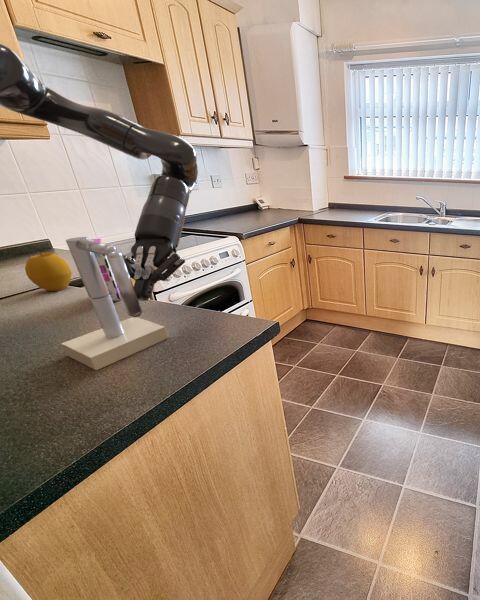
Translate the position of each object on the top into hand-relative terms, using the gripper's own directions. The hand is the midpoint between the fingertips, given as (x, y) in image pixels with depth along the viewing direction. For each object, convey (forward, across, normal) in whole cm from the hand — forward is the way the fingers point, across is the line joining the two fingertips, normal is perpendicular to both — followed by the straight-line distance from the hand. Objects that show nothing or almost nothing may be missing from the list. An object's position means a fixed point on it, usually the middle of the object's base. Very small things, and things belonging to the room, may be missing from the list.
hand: (140, 299), depth 65 cm
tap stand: (+7, +11, -11) cm, 17 cm away
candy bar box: (-12, +36, -31) cm, 49 cm away
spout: (+1, +6, -3) cm, 7 cm away
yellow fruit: (-17, +58, -36) cm, 70 cm away
